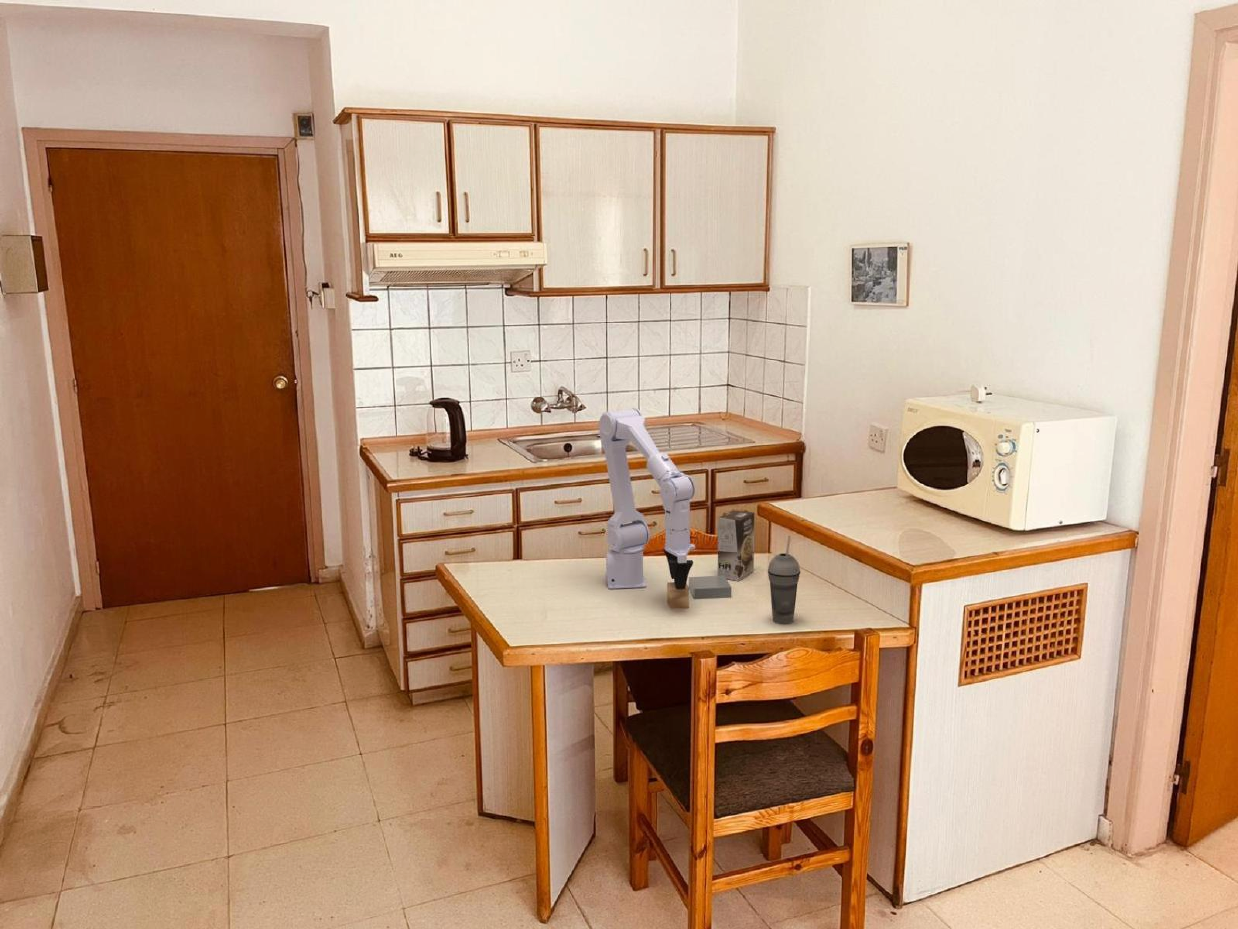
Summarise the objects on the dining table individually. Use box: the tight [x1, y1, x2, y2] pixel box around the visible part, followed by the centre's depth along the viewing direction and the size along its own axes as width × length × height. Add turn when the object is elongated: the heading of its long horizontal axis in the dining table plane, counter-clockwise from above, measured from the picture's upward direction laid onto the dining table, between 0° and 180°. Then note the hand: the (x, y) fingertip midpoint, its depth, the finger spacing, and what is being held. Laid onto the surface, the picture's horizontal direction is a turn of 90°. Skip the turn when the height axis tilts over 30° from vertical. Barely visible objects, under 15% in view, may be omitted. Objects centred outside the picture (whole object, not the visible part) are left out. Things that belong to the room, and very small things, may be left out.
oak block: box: [666, 581, 690, 610], centre depth 229 cm, size 4×4×5 cm
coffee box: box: [717, 509, 755, 582], centre depth 248 cm, size 9×6×16 cm
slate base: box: [688, 575, 732, 600], centre depth 238 cm, size 9×9×2 cm
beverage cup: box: [767, 535, 801, 625], centre depth 216 cm, size 7×7×20 cm
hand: (678, 583), depth 228 cm, fingers open, 7 cm apart
